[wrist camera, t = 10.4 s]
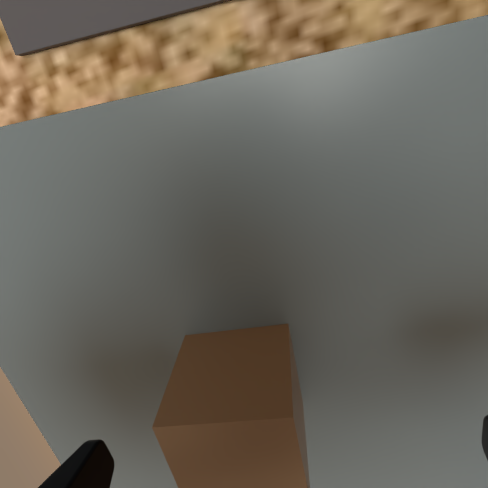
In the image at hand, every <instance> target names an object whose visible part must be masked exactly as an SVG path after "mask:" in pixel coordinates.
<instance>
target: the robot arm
mask: <svg viewBox="0 0 488 488" xmlns="http://www.w3.org/2000/svg"><path fill="white" fill-rule="evenodd" d="M481 442H482V447H483V451H484V453H485V456H486V458H487V460H488V415H486V416H485V417H484V419H483V428H482V439H481ZM113 472H114V459H113V457H112V455H111V453H110V451H109V449H108V447H107V446H106V444H105V442H104V441H103V440H101V439H98V440H88V441H86V442H84V443H83V444H82V445H81V446H80V447H79V448H78V449H77V450H76V451H75V452H74V453H73V454H72V455H71V456H70V457H69V458H68V459H67V460H66V461H65V462H64V463H63V464H62V465H61V466H60V467H59V468H58V469H57V470H56V471H55V472H54V473H52V474H51V476H49V477H48V478H47V479H46V480H45V481H44V482H43V483H42V485H40V486H39V487H38V488H110V485H111V481H112V476H113Z"/></svg>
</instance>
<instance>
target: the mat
mask: <svg viewBox="0 0 488 488" xmlns="http://www.w3.org/2000/svg"><path fill="white" fill-rule="evenodd" d="M228 1H231V0H0V18H1V21H2V23H3V26H4V28H5V30H6V33H7V35H8V38H9V40H10V43H11V45H12V47H13V50H14V52H15V55H19V56H24V55H28V54H31V53H35V52H39V51H43V50H47V49H50V48H54V47H58V46H62V45H65V44H69V43H73V42H77V41H80V40H84V39H88V38H92V37H96V36H99V35H103V34H107V33H111V32H114V31H118V30H122V29H126V28H129V27H133V26H137V25H141V24H145V23H148V22H152V21H156V20H160V19H163V18H167V17H171V16H175V15H178V14H182V13H186V12H190V11H194V10H197V9H201V8H205V7H209V6H212V5H216V4H220V3H224V2H228Z"/></svg>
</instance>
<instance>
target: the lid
mask: <svg viewBox="0 0 488 488" xmlns="http://www.w3.org/2000/svg"><path fill="white" fill-rule="evenodd" d="M0 367H1V369H2V370H3V372H4V373H5V375H6V377H7V378H8V380H9V381H10V383H11V385H12V386H13V388H14V389H15V391H16V393H17V394H18V396H19V397H20V399H21V401H22V402H23V404H24V406H25V407H26V409H27V410H28V412H29V413H30V415H31V417H32V418H33V420H34V421H35V423H36V425H37V426H38V428H39V430H40V431H41V433H42V434H43V436H44V438H45V439H46V441H47V442H48V444H49V446H50V447H51V449H52V451H53V452H54V454H55V455H56V457H57V458H58V460H59V462H60V463H61V465H62V464H63V463H64V462H65V461H66V460H67V459H68V458H69V457H70V456H71V455H72V454H73V453H74V452H75V451H76V450H77V449H78V448H79V447H80V446H81V445H82V444H83V443H84V442H86V441H88V440H98V439H101V440H103V441H104V442H105V444H106V446H107V447H108V449H109V451H110V453H111V455H112V457H113V459H114V472H113V476H112V481H111V485H110V488H488V460H487V458H486V456H485V453H484V451H483V447H482V442H481V439H482V428H483V419H484V417H485V416H486V415H488V15H486V16H481V17H477V18H473V19H468V20H464V21H460V22H455V23H451V24H447V25H442V26H438V27H434V28H429V29H425V30H421V31H416V32H412V33H407V34H403V35H399V36H394V37H390V38H386V39H381V40H377V41H373V42H368V43H364V44H360V45H355V46H351V47H347V48H342V49H338V50H333V51H329V52H325V53H320V54H316V55H312V56H307V57H303V58H299V59H294V60H290V61H286V62H281V63H277V64H273V65H268V66H264V67H259V68H255V69H251V70H246V71H242V72H238V73H233V74H229V75H225V76H220V77H216V78H212V79H207V80H203V81H199V82H194V83H190V84H185V85H181V86H177V87H172V88H168V89H164V90H159V91H155V92H151V93H146V94H142V95H138V96H133V97H129V98H125V99H120V100H116V101H112V102H107V103H103V104H98V105H94V106H90V107H85V108H81V109H77V110H72V111H68V112H64V113H59V114H55V115H51V116H46V117H42V118H38V119H33V120H29V121H24V122H20V123H16V124H11V125H7V126H3V127H0Z"/></svg>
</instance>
